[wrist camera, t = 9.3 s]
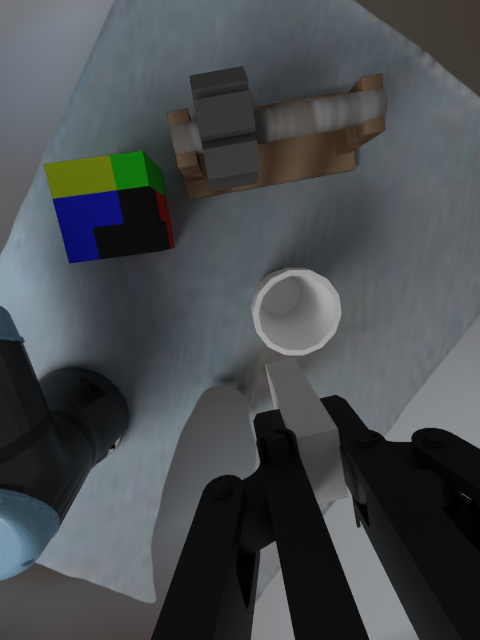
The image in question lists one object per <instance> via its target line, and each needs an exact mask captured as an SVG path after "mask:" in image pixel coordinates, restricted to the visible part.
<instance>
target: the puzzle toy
mask: <svg viewBox="0 0 480 640" xmlns="http://www.w3.org/2000/svg"><path fill="white" fill-rule="evenodd" d="M44 167H45V171H46V175H47V179H48V183H49V187H50V191H51V195H52V198H53V202H54V206H55V210H56V214H57V218H58V222H59V226H60V229H61V233H62V237H63V241H64V245H65V249H66V253H67V257H68V260H69V264H70V263H77V262H84V261H92V260H99V259H106V258H114V257H121V256H129V255H136V254H143V253H151V252H158V251H163V250H167V249H171V248H175V247H174V242H173V236H172V230H171V225H170V219H169V213H168V208H167V202H166V196H165V191H164V185H163V179H162V174H161V169H160V168H159V167H158V166H157V165H156V164H155V163H154V162H153V161H152V160H151V159H150V158H149V157H148V156H147V155H146V154H145V153H144V152H143V151H138V152H130V153H123V154H115V155H108V156H100V157H93V158H85V159H78V160H70V161H63V162H55V163H48V164H44Z"/></svg>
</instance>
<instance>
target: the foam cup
mask: <svg viewBox="0 0 480 640" xmlns="http://www.w3.org/2000/svg"><path fill="white" fill-rule="evenodd" d="M251 311H252V315H253V320H254V325H255V329H256V332H257V333H258V335H259V336H260V337H261V338H262V340H263V341H264V342H265V344H266V345H267V346H268V347H269V348H271V349H273V350H276V351H278V352H280V353H282V354H284V355H306V354H308V353H310V352H313V351H315V350H317V349H319V348H322V347H323V346H324V345H325V344H326V343H327V342H328V340H329V339H330V338H331V337H332V336H333V335H334V334H335V333H336V330H337V327H338V324H339V321H340V318H341V315H342V314H341V306H340V299H339V294H338V293H337V292H336V290H335V289H334V287H333V286H332V284H331V283H330V282H329V280H328V279H326V278H325V277H323V276H321V275H319V274H317V273H315V272H313V271H311V270H309V269H306V268H284V269H282V270H279V271H274V272H272V273H270V274H268V275H266V276H265V277H264V278H263V279H262V280H261V282H260V283H259V285H258V289H257V290H256V292H255V296H254V300H253V304H252V307H251Z"/></svg>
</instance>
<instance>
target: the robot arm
mask: <svg viewBox="0 0 480 640" xmlns="http://www.w3.org/2000/svg"><path fill="white" fill-rule="evenodd" d="M24 342H25V341H24V338H23V337H21V336H20V335H19V333H18V331H17V328H16V326H15V324H14V322H13V320H12V317H11V315H10V314H9V312H8V311H7V310H6V309H5V308H3V307H2V306H0V580H4V579H7V578H10V577H12V576H15V575H17V574H19V573H21V572H22V571H24V570H26V569H27V568H28V567H30V566H31V565H32V564H33V563H34V562H35V561H36V560H37V559H38V558H39V557H40V555H41V554H42V552H43V551H44V549H45V547H46V546H47V544H48V543H49V541H50V540H51V539H52V538H53V537H54V536H55V534H56V533H57V532H58V530H59V528H60V525H61V523H62V521H63V520H64V518H65V516H66V514H67V512H68V510H69V509H70V507H71V505H72V503H73V501H74V499H75V498H76V496H77V494H78V492H79V490H80V488H81V487H82V485H83V483H84V481H85V479H86V477H87V476H88V474H89V472H90V470H91V468H93V467H94V466H95V465H97V464H98V463H99V462H101V461H102V460H103V459H105V458H106V457H107V456H108V455H110V454H111V453H112V452H113V451H114V450H115V448H116V447H117V446H118V444H119V443H120V441H121V439H122V437H123V435H124V433H125V431H126V429H127V425H128V408H127V404H126V402H125V399H124V397H123V395H122V394H121V392H120V391H119V389H118V388H117V387H116V386H115V385H114V384H113V383H112V382H111V381H109V380H108V379H107V378H105V377H104V376H102V375H100V374H98V373H96V372H93V371H90V370H86V369H80V368H66V369H60V370H57V371H54V372H51V373H49V374H47V375H46V376H44V377H43V378H42V379H40V380H39V381H38V379H37V377H36V374H35V372H34V369H33V367H32V364H31V362H30V359H29V357H28V354H27V352H26V349H25V347H24V344H23V343H24ZM265 366H266V371H267V376H268V381H269V385H270V390H271V395H272V400H273V405H274V409H275V410H271V411H267V412H262V413H258V414H256V416H255V419H254V421H253V422H254V428H255V433H256V438H257V442H256V445H257V449H258V453H259V458H260V465H259V467H258V469H257V470H256V471H255V472H254V473H253V474H252V475H251V476H249V477H247V478H245V479H244V480H241V479H240V478H239V477H237V476H235V475H223V476H219V477H217V478H215V479H213V480H212V481H211V482H210V483H208V484H207V485H206V487H205V489H204V490H203V493H202V496H201V499H200V501H199V504H198V507H197V510H196V513H195V516H194V519H193V521H192V524H191V527H190V530H189V533H188V536H187V539H186V541H185V544H184V547H183V550H182V553H181V556H180V558H179V561H178V564H177V567H176V570H175V573H174V575H173V578H172V581H171V584H170V587H169V590H168V593H167V595H166V599H165V601H164V604H163V607H162V610H161V612H160V615H159V618H158V621H157V624H156V627H155V630H154V632H153V635H152V638H151V640H251V632H252V623H253V614H254V606H255V597H256V588H257V580H258V571H259V562H260V550H261V549H262V548H264V547H266V546H267V545H269V544H271V543H272V542H274V541H276V544H277V549H278V554H279V559H280V564H281V569H282V575H283V580H284V585H285V590H286V595H287V600H288V605H289V611H290V615H291V621H292V626H293V631H294V636H295V640H369V637H368V635H367V632H366V629H365V627H364V624H363V622H362V619H361V616H360V614H359V611H358V608H357V606H356V603H355V601H354V598H353V595H352V592H351V590H350V587H349V585H348V582H347V580H346V577H345V574H344V571H343V569H342V566H341V563H340V561H339V558H338V555H337V553H336V550H335V548H334V545H333V542H332V540H331V537H330V534H329V532H328V529H327V526H326V524H325V521H324V518H323V516H322V513H321V511H320V508H319V505H318V504H321V503H325V502H329V501H334V500H338V499H342V498H347V497H348V491H347V486H348V488H349V490H350V492H351V494H352V499H353V506H354V512H355V518H356V524H357V527H360V521H361V523H362V525H363V527H364V529H365V531H366V533H367V535H368V537H369V539H370V541H371V543H372V545H373V547H374V549H375V551H376V553H377V555H378V557H379V559H380V561H381V563H382V565H383V567H384V569H385V571H386V573H387V576H388V577H389V579H390V581H391V583H392V585H393V587H394V590H395V591H396V593H397V596H398V597H399V600H400V602H401V604H402V606H403V607H404V610H405V611H406V614H407V616H408V618H409V620H410V622H411V624H412V626H413V628H414V630H415V631H416V634H417V636H418V638H419V640H480V449H479V448H477V447H475V446H474V445H472V444H470V443H468V442H467V441H465V440H463V439H461V438H460V437H458V436H456V435H454V434H453V433H450V432H448V431H446V430H443V429H437V428H424V429H420V430H417V431H416V432H414V433H413V435H412V437H411V439H412V442H390V441H386V439H385V438H384V437H383V436H382V435H381V434H379V433H378V432H375V431H372V430H369V429H368V428H367V427H366V425H365V424H364V423H363V422H362V420H361V419H360V418H359V416H358V415H357V414H356V413H355V411H354V410H353V409H352V407H350V405H349V404H348V402H347V401H346V400H345V399H343V398H341V397H339V396H337V395H333V396H329V397H324V398H320V399H319V398H318V396H317V395H316V393H315V391H314V390H313V388H312V387H311V385H310V383H309V382H308V380H307V378H306V377H305V375H304V374H303V372H302V370H301V369H300V367H299V366H298V364H297V362H296V361H295V359H294V358H289V359H285V360H280V361H276V362H271V363H267V364H265ZM463 494H464V495H463ZM465 495H466V496H467V497H469V498H470V499H469V498H467V497H466V496H465Z"/></svg>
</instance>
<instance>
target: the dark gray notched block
mask: <svg viewBox="0 0 480 640" xmlns="http://www.w3.org/2000/svg"><path fill="white" fill-rule="evenodd" d="M190 83H191V90H192V95H193V101H194V107H195V112H196V118H197V123H198V129H199V134H200V139H201V143H202V150H203V155H204V160H205V165H206V170H207V175H208V180H209V185H210V189H211V192H213V191H219V190H224V189H230V188H235V187H241V186H247V185H252V184H256V183H257V180H258V178H259V177H258V171H259V165H258V148H257V139H256V136H255V128H256V126H255V119H254V113H253V106H252V100H251V93H250V90H249V89H248V79H247V76H246V74H245V71H244V68H243V66H242V67H236V68H230V69H225V70H219V71H214V72H208V73H203V74H197V75H192V76H190Z"/></svg>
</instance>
